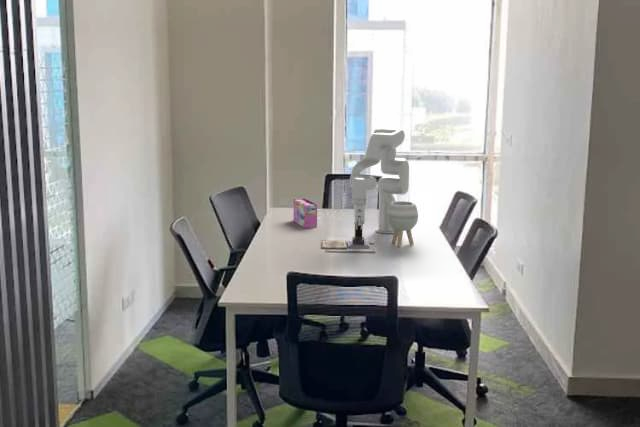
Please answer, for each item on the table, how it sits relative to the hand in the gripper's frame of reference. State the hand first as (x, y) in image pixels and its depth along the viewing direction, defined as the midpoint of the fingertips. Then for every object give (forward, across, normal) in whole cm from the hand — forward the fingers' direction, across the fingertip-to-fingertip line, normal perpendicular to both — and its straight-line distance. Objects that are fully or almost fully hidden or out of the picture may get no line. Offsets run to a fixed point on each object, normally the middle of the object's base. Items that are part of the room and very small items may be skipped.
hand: (358, 235), depth 366 cm
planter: (+6, +3, -23) cm, 24 cm away
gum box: (+6, +55, +30) cm, 63 cm away
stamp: (+4, 0, 0) cm, 4 cm away
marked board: (+5, 0, +13) cm, 14 cm away
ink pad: (+5, 0, 0) cm, 5 cm away
